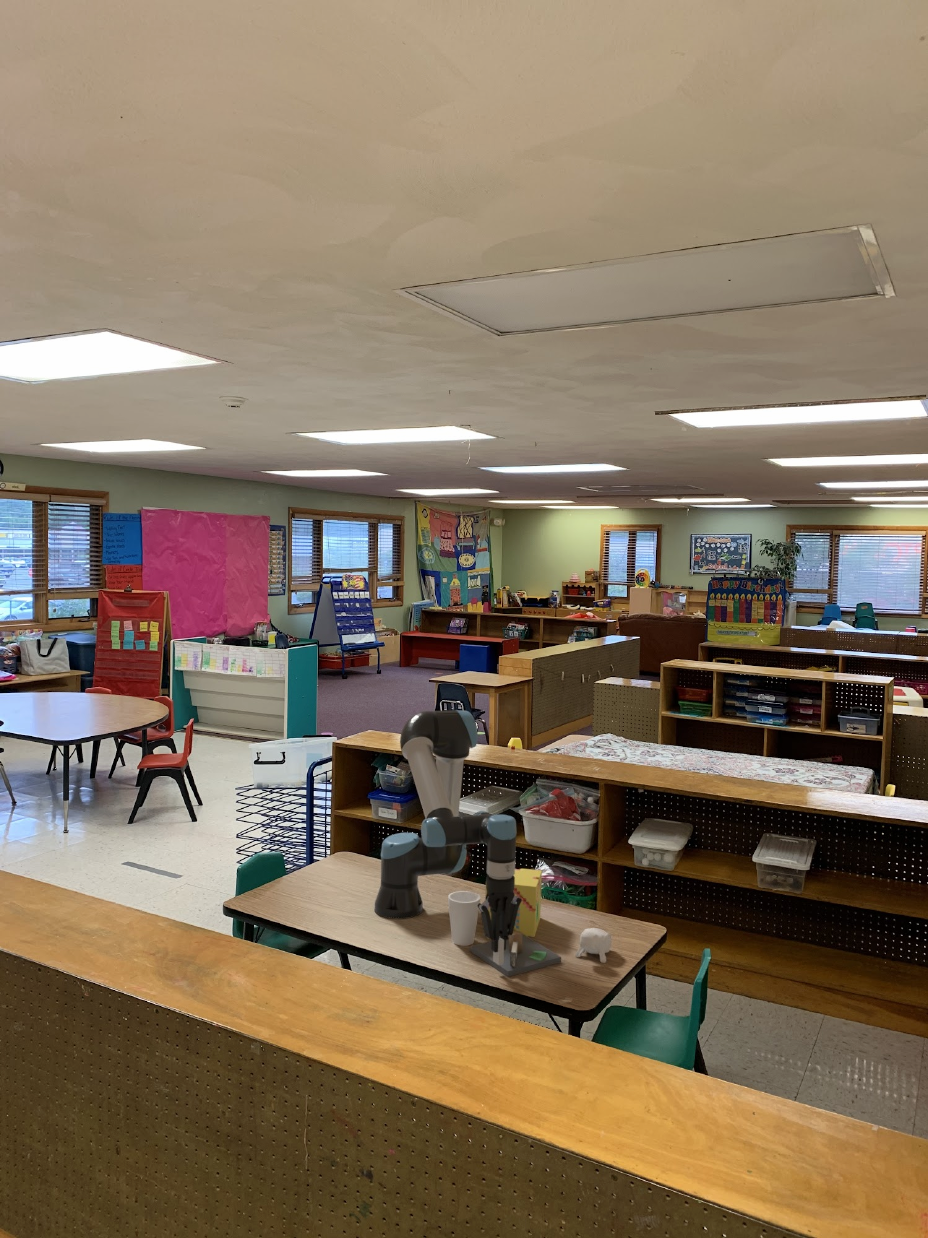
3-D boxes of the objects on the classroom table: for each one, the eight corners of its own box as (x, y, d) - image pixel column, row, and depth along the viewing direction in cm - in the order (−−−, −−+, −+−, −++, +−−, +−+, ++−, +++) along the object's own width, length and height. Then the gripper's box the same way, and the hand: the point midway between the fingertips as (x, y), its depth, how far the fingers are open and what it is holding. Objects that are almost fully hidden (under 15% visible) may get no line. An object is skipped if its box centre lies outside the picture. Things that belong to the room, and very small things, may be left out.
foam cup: (459, 950, 242) (460, 905, 241) (440, 939, 249) (441, 895, 249) (485, 943, 248) (487, 898, 247) (466, 932, 255) (468, 889, 254)
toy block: (534, 937, 253) (536, 886, 252) (484, 931, 256) (485, 882, 255) (540, 918, 268) (541, 870, 267) (492, 913, 271) (494, 866, 270)
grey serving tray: (470, 951, 242) (470, 945, 241) (522, 938, 251) (522, 933, 251) (507, 977, 226) (508, 970, 226) (561, 962, 236) (561, 956, 236)
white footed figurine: (583, 957, 247) (568, 956, 234) (587, 926, 250) (573, 924, 237) (612, 963, 243) (599, 963, 231) (616, 932, 246) (603, 930, 233)
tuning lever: (509, 947, 241) (510, 930, 241) (522, 948, 240) (522, 931, 240) (506, 966, 229) (506, 948, 228) (519, 967, 228) (520, 949, 228)
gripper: (488, 883, 221) (485, 973, 222) (528, 875, 228) (526, 963, 229) (472, 874, 227) (469, 962, 228) (512, 867, 234) (509, 952, 235)
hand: (498, 962), depth 228 cm, fingers closed
